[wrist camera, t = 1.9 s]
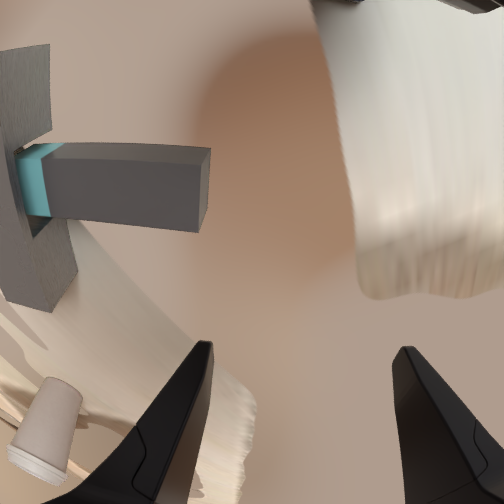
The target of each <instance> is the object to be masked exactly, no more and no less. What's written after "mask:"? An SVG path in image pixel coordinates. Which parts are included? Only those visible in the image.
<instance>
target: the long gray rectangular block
mask: <svg viewBox="0 0 504 504" xmlns="http://www.w3.org/2000/svg"><path fill="white" fill-rule="evenodd" d="M49 61H50V44H45V45H37V46H30V47H24V48H17V49H11V50H6V51H1V52H0V288H1V290H2V292H3V294H4V296H5V299H6V301H9V302H12V303H16V304H19V305H23V306H26V307H30V308H33V309H37V310H41V311H45V312H49V313H52V311H53V310H54V308H55V306H56V305H57V303H58V302H59V300H60V298H61V297H62V295H63V294H64V292H65V290H66V289H67V287H68V286H69V284H70V283H71V281H72V280H73V278H74V277H75V275H76V274H77V272H78V269H77V265H76V261H75V258H74V254H73V250H72V246H71V241H70V237H69V233H68V228H67V224H66V219H65V218H58V217H48V216H38V215H28V214H26V211H25V207H24V203H23V198H22V194H21V189H20V184H19V179H18V174H17V168H16V163H15V157H14V151H15V150H17V149H18V148H20V147H22V146H24V145H25V144H27V143H29V142H30V141H32V140H34V139H36V138H38V137H39V136H41V135H43V134H45V133H47V132H49V131H51V130H52V120H51V106H50V70H49V68H50V63H49Z"/></svg>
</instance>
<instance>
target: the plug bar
mask: <svg viewBox="0 0 504 504" xmlns="http://www.w3.org/2000/svg"><path fill="white" fill-rule="evenodd" d="M210 155H211V148H204V147H192V146H179V145H163V144H162V145H161V144H141V143H94V142H90V143H43V144H33V145H32V146H30V147H28V148H26V149H25V150H23V151H21V152H20V153H18V154H16V155H15V156H14V157H15V163H16V168H17V174H18V179H19V184H20V189H21V194H22V198H23V203H24V207H25V211H26V214H28V215H38V216H48V217H58V218H67V219H77V220H87V221H96V222H105V223H115V224H124V225H133V226H143V227H151V228H160V229H169V230H178V231H187V232H195V233H199V230H200V227H201V225H202V221H203V219H204V216H205V213H206V210H207V205H208V188H209V171H210V170H209V169H210Z"/></svg>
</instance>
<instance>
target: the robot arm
mask: <svg viewBox="0 0 504 504" xmlns="http://www.w3.org/2000/svg"><path fill="white" fill-rule="evenodd" d="M347 1H351V2H355V3H359V2H362V1H364V0H347ZM438 1H440V2H443V3H445V4H448V5H450V6H452V7H455V8H457V9H461V10H466V11H468V12H470V13H472V14H479V13H487V12H490V11H492V10H494V9H496V8H499V7H501V6H502V7H504V0H438ZM213 366H214V354H213V343H212V342H211V341H202V340H200V341H198V342H197V343H196V345H195V346H194V347H193V349H192V350H191V351H190V353H189V354H188V355H187V357H186V358H185V359H184V361H183V362H182V363H181V365H180V366H179V367H178V369H177V370H176V371H175V373H174V374H173V375H172V377H171V378H170V379H169V381H168V382H167V383H166V385H165V386H164V387H163V389H162V390H161V391H160V393H159V394H158V395H157V397H156V398H155V399H154V401H153V402H152V403H151V405H150V406H149V407H148V408H147V410H146V411H145V412H144V414H143V415H142V416H141V418H140V419H139V420H138V422H137V423H136V426H134V427H133V428H132V429H131V431H130V432H129V433H128V435H127V436H126V437H125V438H124V440H123V441H122V442H121V443H120V444H119V446H118V447H117V448H116V449H115V450H114V451H113V452H112V453H111V454H110V456H108V457H107V459H105V460H104V461H103V462H102V463H101V464H100V465H99V466H98V467H97V468H96V469H95V471H93V472H92V473H91V474H90V475H89V476H88V477H87V478H86V479H85V480H84V481H83V482H82V483H81V484H79V485H78V486H77V487H76V488H74V489H73V490H71V491H70V492H68V493H66V494H64V495H62V496H59V497H57V498H55V499H52V500H50V501H47V502H45V503H42V504H187V501H188V496H189V492H190V488H191V483H192V479H193V475H194V471H195V466H196V462H197V458H198V453H199V449H200V445H201V441H202V436H203V432H204V428H205V423H206V419H207V415H208V410H209V404H210V395H211V385H212V375H213ZM392 374H393V390H394V406H395V414H396V421H397V428H398V435H399V443H400V451H401V460H402V468H403V479H404V491H405V504H504V449H503V448H502V447H501V446H500V445H499V444H498V443H497V441H496V440H495V439H494V438H493V437H492V436H491V435H490V434H489V433H488V432H487V430H486V429H485V428H484V427H483V426H482V424H481V423H480V422H479V421H478V420H477V419H476V417H475V416H474V415H473V414H472V412H471V411H470V410H469V409H468V408H467V406H466V405H465V404H464V403H463V402H462V400H461V399H460V398H459V397H458V396H457V395H456V393H455V392H454V391H453V390H452V389H451V388H450V386H449V385H448V384H447V383H446V382H445V381H444V379H443V378H442V377H441V376H440V375H439V374H438V373H437V371H436V370H435V369H434V368H433V367H432V366H431V365H430V364H429V363H428V361H427V360H426V359H425V358H424V357H423V356H422V355H421V353H420V352H419V351H418V350H417V349H416V348H415V347H414V346H403V347H401V348H400V350H399V352H398V354H397V355H396V357H395V359H394V360H393V363H392Z"/></svg>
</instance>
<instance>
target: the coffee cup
mask: <svg viewBox="0 0 504 504" xmlns="http://www.w3.org/2000/svg"><path fill="white" fill-rule="evenodd" d="M81 403H82V396H81V394H80V393H79V392H78V391H77V390H76V389H74V388H73V387H72V386H70V385H69V384H67V383H65V382H63V381H61V380H59V379H56V378H52V377H47V378H46V379H45V380H44V382H43V384H42V386H41V387H40V389H39V391H38V393H37V394H36V396H35V398H34V400H33V402H32V404H31V405H30V407H29V409H28V411H27V413H26V415H25V417H24V419H23V420H22V422H21V424H20V426H19V428H18V430H17V432H16V434H15V436H14V438H13V440H12V442H11V444H10V445H9V444H7V447H6V448H7V452H8V460H9V461H10V462H11V463H13V464H15V465H16V466H18V467H19V468H21V469H23V470H24V471H26V472H28V473H30V474H32V475H34V476H36V477H38V478H40V479H42V480H44V481H46V482H49V483H51V484H53V485H56V486H60V484H61V483H62V482H65V480H67V478H68V475H66V469H67V464H68V458H69V453H70V448H71V443H72V439H73V435H74V430H75V426H76V422H77V418H78V414H79V410H80V406H81Z"/></svg>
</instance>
